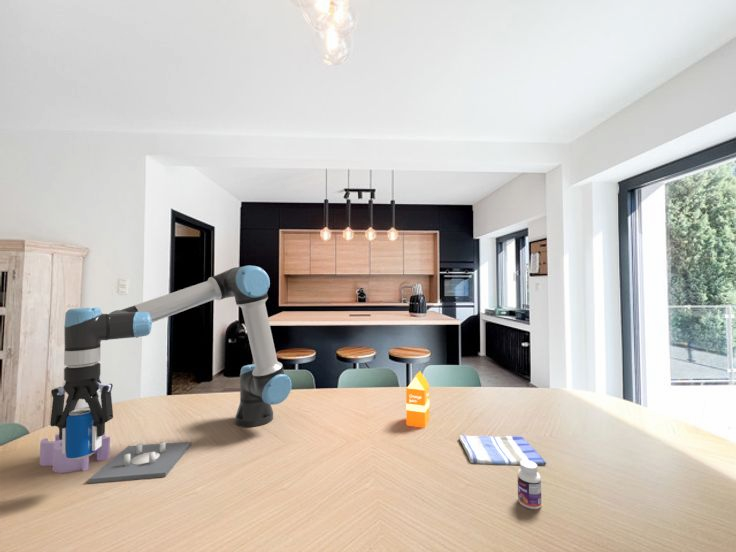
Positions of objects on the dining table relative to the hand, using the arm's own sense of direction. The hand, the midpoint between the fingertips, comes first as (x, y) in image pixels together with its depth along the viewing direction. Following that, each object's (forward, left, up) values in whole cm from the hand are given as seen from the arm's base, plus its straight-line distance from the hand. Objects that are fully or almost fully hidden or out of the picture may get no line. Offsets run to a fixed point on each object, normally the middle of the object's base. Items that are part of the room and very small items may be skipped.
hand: (82, 449), depth 89 cm
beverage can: (0, 0, -2) cm, 2 cm away
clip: (+14, -18, -11) cm, 26 cm away
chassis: (-10, -14, -11) cm, 20 cm away
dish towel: (-124, -2, -12) cm, 124 cm away
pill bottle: (-117, +24, -11) cm, 120 cm away
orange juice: (-105, -30, -11) cm, 109 cm away
